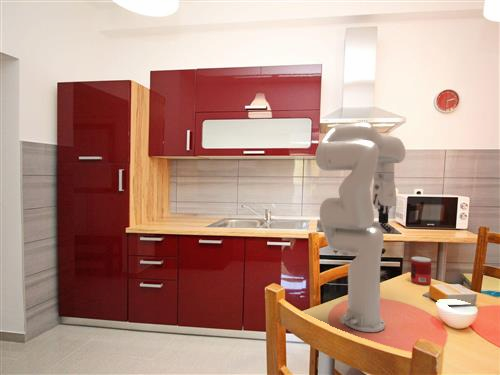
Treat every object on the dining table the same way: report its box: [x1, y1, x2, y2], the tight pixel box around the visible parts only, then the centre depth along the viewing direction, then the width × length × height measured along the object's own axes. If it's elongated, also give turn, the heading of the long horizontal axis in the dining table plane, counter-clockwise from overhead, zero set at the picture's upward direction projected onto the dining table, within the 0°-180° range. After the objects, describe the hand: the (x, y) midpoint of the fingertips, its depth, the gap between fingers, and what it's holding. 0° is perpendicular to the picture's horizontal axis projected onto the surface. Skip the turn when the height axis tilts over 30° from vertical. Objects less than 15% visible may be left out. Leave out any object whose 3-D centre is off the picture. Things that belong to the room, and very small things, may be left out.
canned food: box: [410, 256, 432, 286], centre depth 135 cm, size 8×8×11 cm
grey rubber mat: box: [422, 291, 434, 300], centre depth 119 cm, size 12×8×1 cm, turn 126°
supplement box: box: [428, 283, 478, 306], centre depth 113 cm, size 8×5×13 cm
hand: (383, 222), depth 119 cm, fingers closed
